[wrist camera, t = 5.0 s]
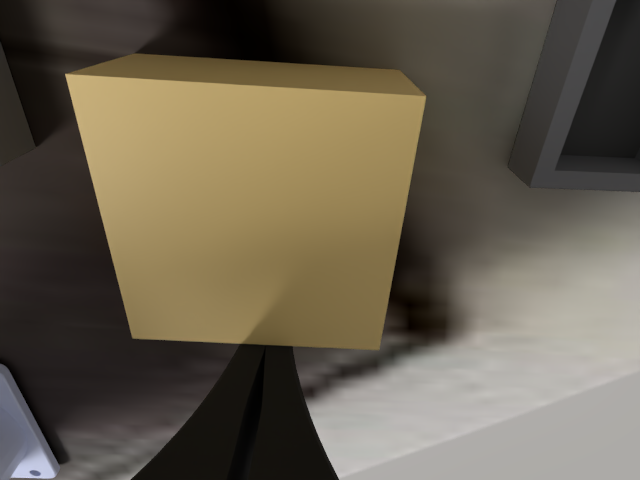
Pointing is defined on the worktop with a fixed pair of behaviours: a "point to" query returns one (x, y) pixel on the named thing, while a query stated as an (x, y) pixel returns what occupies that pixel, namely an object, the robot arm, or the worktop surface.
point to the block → (250, 194)
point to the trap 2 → (584, 101)
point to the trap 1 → (11, 118)
